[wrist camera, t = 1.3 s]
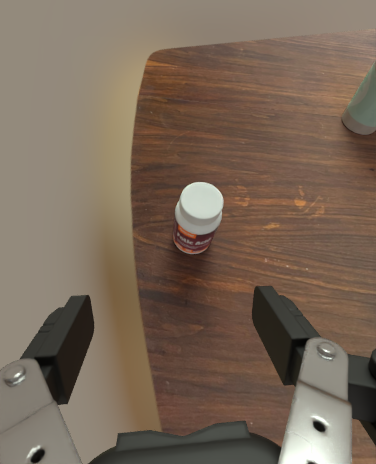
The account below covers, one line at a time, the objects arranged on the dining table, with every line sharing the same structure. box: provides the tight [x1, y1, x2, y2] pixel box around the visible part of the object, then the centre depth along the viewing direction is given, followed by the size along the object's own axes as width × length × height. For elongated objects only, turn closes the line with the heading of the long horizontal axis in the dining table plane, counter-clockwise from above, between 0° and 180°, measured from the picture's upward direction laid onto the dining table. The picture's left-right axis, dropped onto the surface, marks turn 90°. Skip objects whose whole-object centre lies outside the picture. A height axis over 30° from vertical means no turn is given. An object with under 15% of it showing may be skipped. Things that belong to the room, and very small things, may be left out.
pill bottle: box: [173, 182, 223, 254], centre depth 26 cm, size 5×5×8 cm
